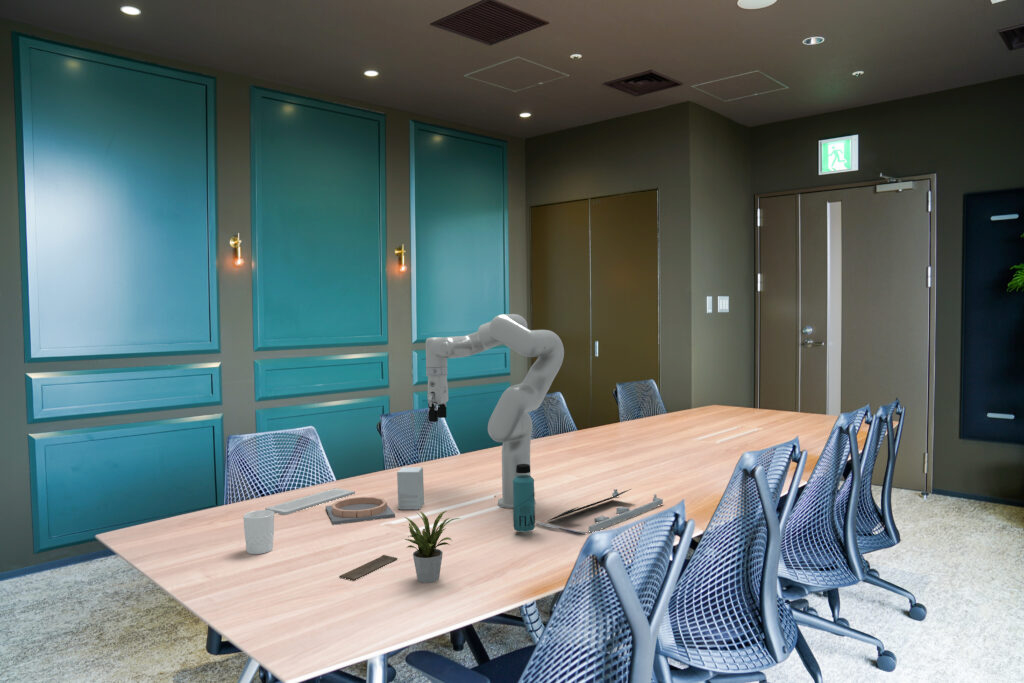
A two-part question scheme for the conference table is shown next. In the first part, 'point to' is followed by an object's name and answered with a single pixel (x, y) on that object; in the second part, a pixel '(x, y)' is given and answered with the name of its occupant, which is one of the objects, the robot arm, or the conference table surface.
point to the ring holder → (359, 510)
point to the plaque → (309, 501)
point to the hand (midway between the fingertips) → (437, 419)
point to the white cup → (259, 531)
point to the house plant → (427, 549)
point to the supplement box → (410, 488)
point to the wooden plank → (368, 567)
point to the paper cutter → (606, 521)
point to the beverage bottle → (523, 500)
